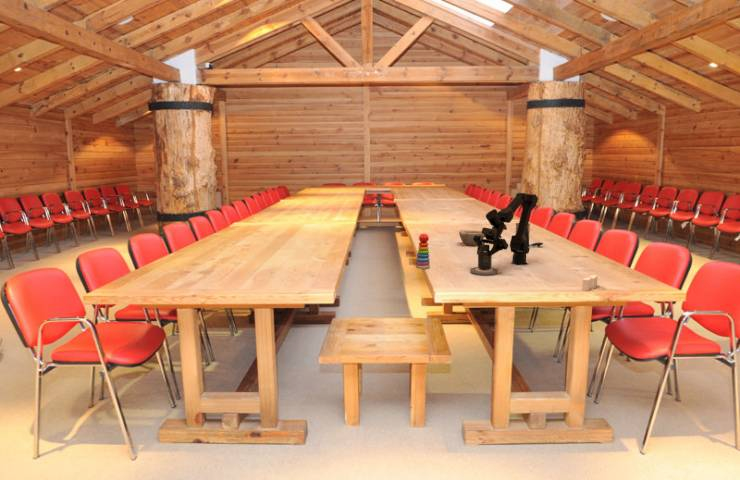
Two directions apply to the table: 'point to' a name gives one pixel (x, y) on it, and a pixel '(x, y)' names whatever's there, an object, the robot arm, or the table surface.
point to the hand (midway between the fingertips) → (483, 255)
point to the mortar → (469, 237)
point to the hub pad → (484, 271)
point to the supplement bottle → (484, 257)
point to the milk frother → (528, 236)
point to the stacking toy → (423, 253)
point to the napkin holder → (589, 283)
